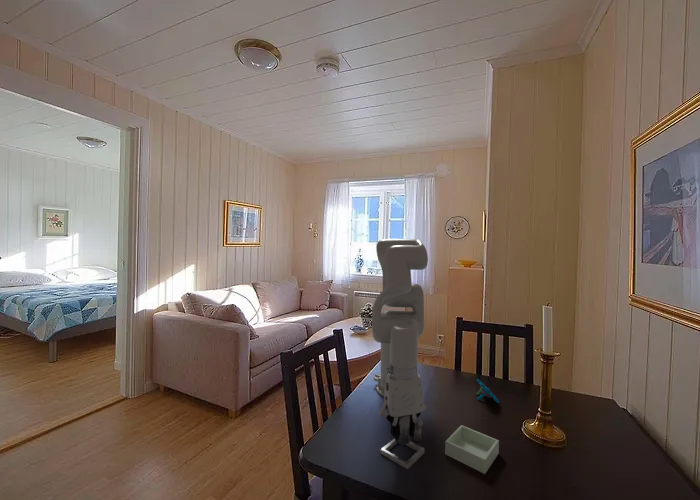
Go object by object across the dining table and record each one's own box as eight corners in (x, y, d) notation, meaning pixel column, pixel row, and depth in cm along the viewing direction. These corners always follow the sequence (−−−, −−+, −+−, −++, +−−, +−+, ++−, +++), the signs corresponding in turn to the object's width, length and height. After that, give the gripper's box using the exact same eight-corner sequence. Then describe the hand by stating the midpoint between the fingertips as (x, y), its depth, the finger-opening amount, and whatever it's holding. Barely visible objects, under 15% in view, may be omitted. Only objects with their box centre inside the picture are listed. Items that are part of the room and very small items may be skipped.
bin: (445, 454, 84) (445, 441, 83) (461, 436, 91) (461, 424, 91) (485, 474, 76) (485, 459, 76) (498, 453, 84) (498, 440, 84)
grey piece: (380, 453, 84) (380, 431, 84) (407, 431, 94) (407, 411, 94) (407, 469, 78) (407, 445, 78) (433, 444, 88) (433, 422, 88)
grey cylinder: (399, 445, 82) (399, 413, 81) (392, 436, 86) (393, 405, 85) (412, 443, 83) (413, 411, 83) (405, 434, 87) (406, 403, 86)
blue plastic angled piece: (504, 404, 107) (482, 382, 109) (492, 416, 107) (470, 393, 109) (495, 394, 118) (475, 373, 120) (484, 404, 118) (464, 383, 120)
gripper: (380, 380, 78) (379, 450, 78) (437, 372, 83) (436, 438, 83) (370, 368, 85) (369, 432, 85) (423, 361, 90) (422, 423, 90)
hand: (402, 435), depth 84 cm, fingers closed on grey cylinder, 4 cm apart
